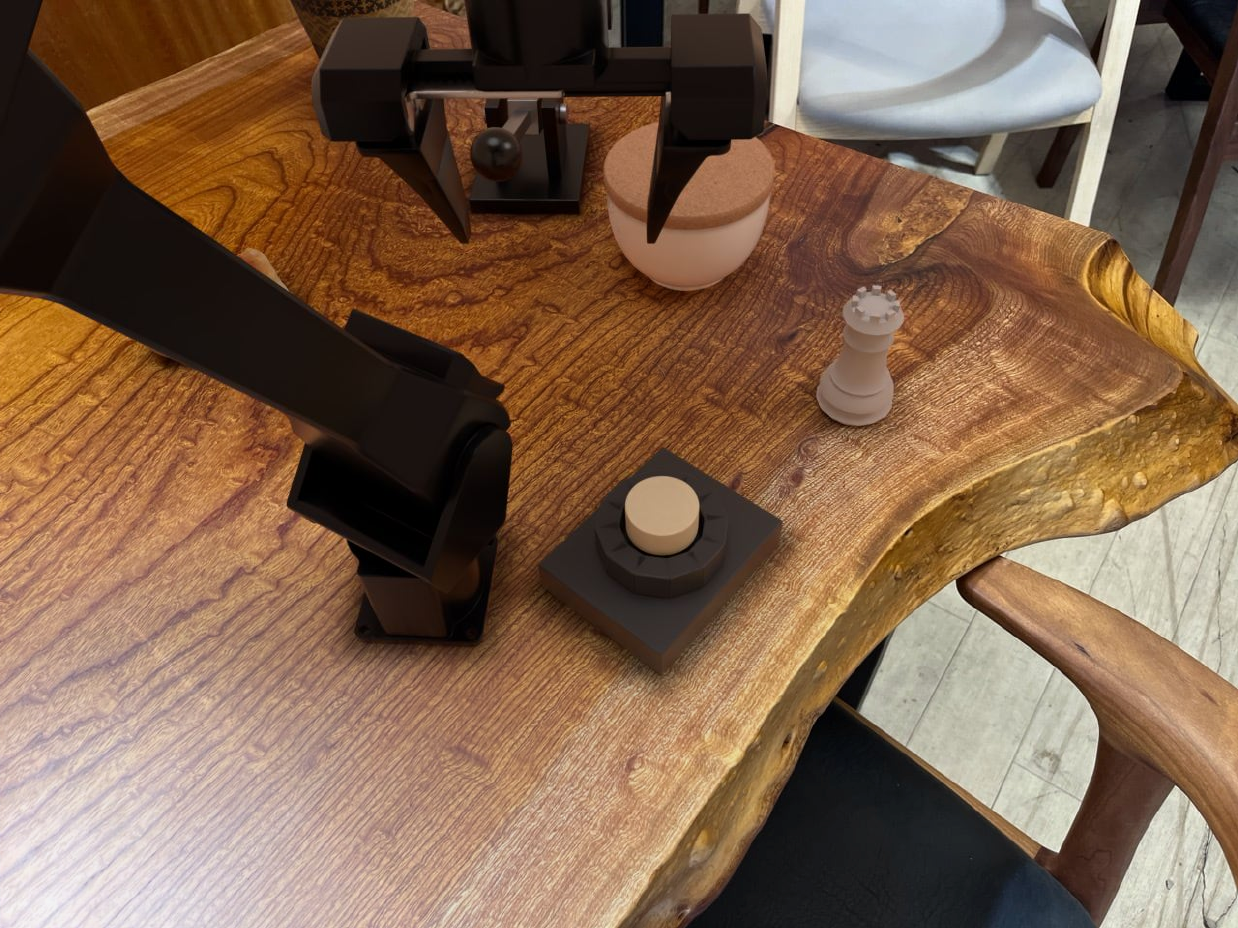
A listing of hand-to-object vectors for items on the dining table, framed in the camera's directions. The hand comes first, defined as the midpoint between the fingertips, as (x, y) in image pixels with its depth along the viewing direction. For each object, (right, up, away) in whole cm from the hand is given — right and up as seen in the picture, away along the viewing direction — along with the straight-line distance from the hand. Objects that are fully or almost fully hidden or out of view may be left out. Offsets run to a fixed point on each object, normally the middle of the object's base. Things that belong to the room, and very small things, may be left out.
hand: (558, 238), depth 48 cm
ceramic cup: (-19, +21, +35) cm, 45 cm away
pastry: (-23, -2, +16) cm, 28 cm away
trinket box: (+8, +3, +18) cm, 20 cm away
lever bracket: (-4, +11, +26) cm, 28 cm away
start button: (+5, -14, 0) cm, 15 cm away
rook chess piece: (+17, -8, +10) cm, 21 cm away
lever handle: (-4, +10, +17) cm, 20 cm away
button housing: (+5, -17, +3) cm, 18 cm away
